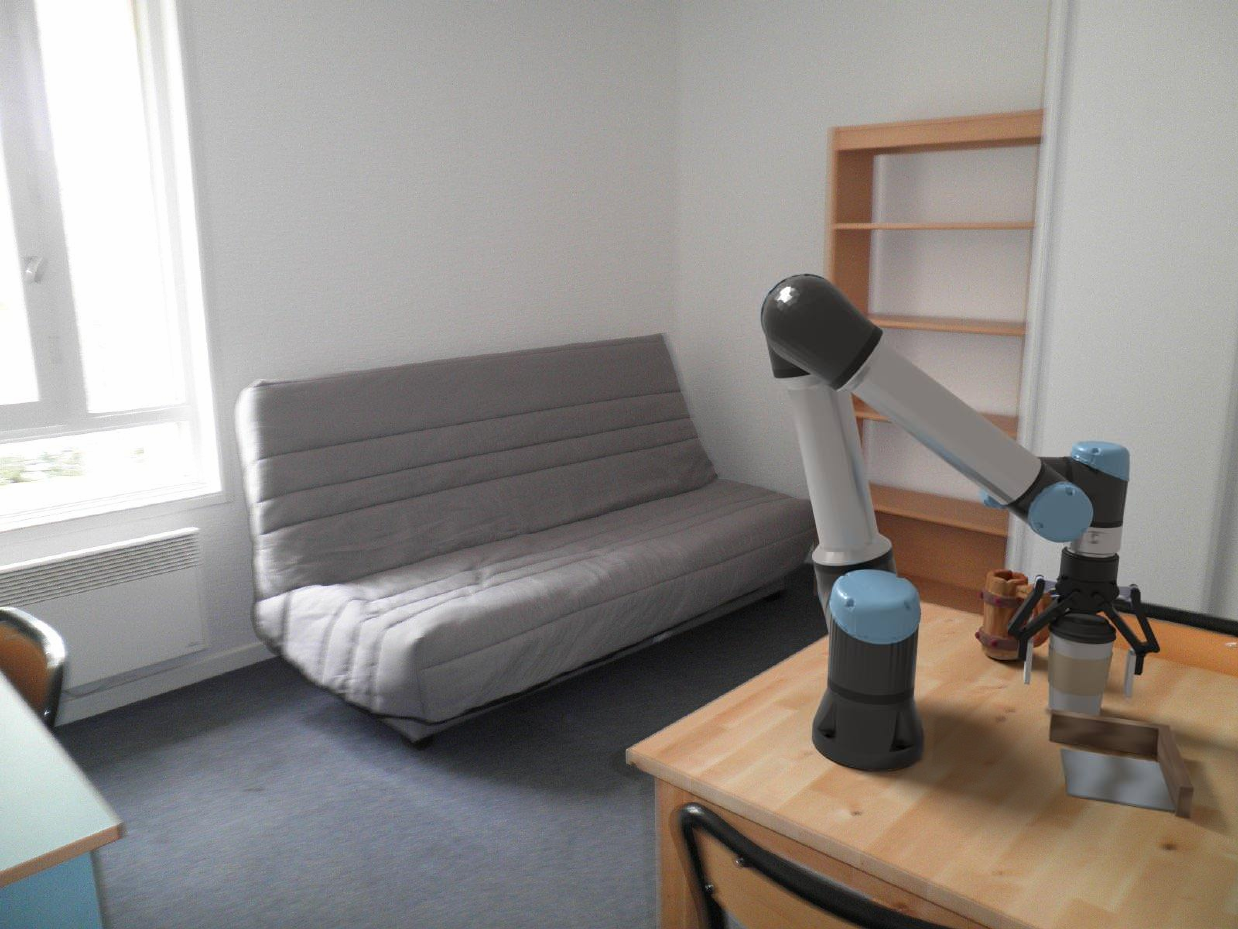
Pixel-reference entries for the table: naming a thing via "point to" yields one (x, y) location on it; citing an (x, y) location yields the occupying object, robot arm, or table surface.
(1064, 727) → the arena
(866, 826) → the table surface
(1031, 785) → the table surface
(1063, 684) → the coffee cup
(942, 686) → the table surface
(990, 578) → the mug
